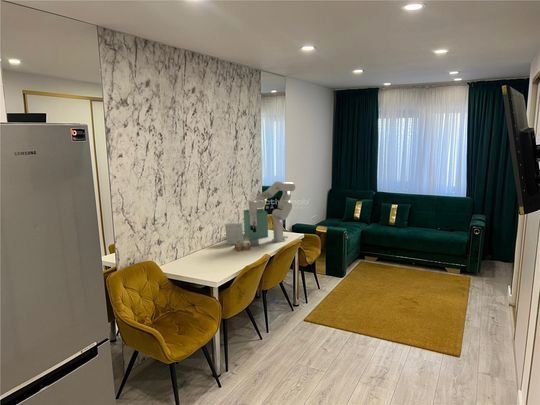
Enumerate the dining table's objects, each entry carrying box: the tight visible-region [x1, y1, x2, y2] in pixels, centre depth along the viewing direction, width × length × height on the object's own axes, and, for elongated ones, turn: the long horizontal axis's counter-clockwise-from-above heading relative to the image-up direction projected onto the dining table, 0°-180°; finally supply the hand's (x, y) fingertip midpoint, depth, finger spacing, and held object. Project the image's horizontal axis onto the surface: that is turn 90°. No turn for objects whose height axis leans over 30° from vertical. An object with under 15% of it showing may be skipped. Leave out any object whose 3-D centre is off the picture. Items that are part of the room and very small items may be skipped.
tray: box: [234, 242, 251, 252], centre depth 356 cm, size 12×12×4 cm
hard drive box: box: [225, 222, 244, 245], centre depth 375 cm, size 16×8×20 cm, turn 84°
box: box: [243, 208, 269, 239], centre depth 403 cm, size 23×21×26 cm
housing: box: [248, 238, 260, 248], centre depth 366 cm, size 8×5×7 cm, turn 106°
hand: (253, 231), depth 364 cm, fingers open, 9 cm apart
